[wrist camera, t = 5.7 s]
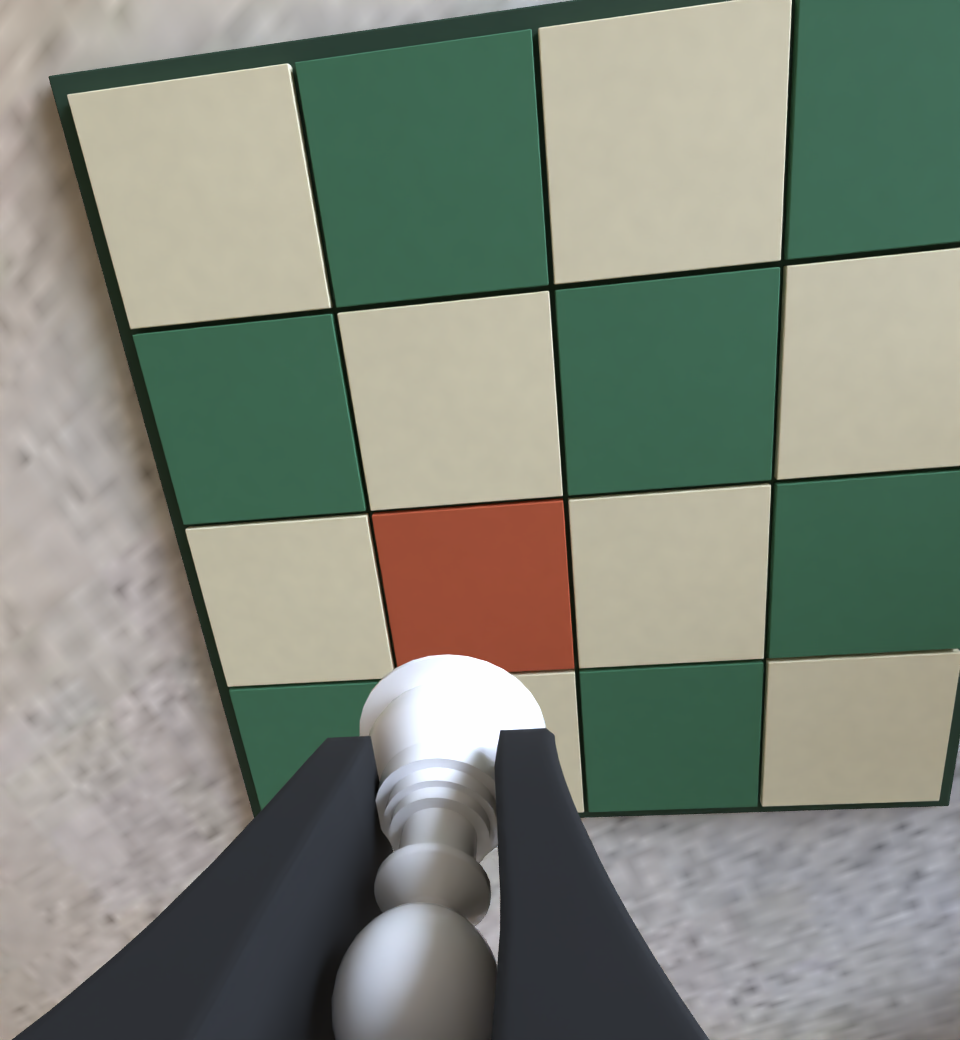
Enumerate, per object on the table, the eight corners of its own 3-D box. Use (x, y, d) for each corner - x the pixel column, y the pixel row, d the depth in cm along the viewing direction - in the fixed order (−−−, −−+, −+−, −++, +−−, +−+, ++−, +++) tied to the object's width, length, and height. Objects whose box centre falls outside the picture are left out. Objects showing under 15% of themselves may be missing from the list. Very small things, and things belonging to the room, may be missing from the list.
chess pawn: (526, 634, 10) (522, 954, 6) (561, 788, 11) (582, 1169, 7) (340, 664, 11) (196, 987, 6) (390, 811, 12) (297, 1185, 7)
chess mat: (944, 799, 17) (953, 813, 16) (259, 822, 18) (253, 834, 18) (1084, -71, 11) (1103, -81, 10) (54, 78, 12) (39, 73, 12)
